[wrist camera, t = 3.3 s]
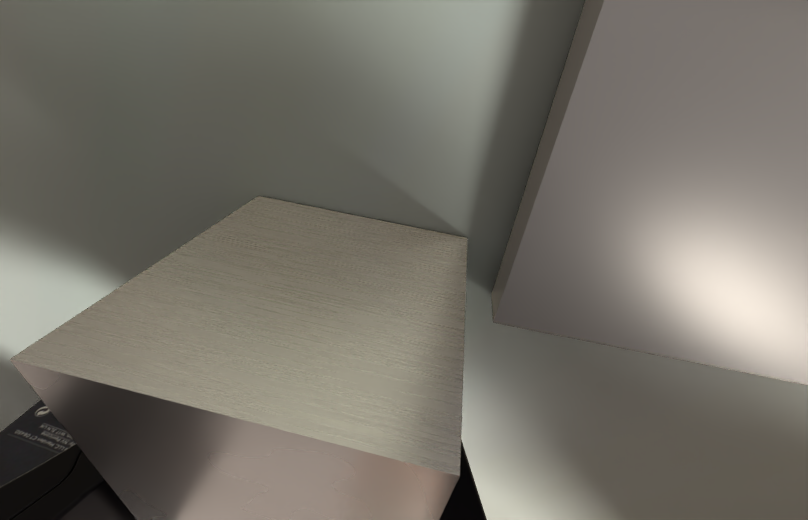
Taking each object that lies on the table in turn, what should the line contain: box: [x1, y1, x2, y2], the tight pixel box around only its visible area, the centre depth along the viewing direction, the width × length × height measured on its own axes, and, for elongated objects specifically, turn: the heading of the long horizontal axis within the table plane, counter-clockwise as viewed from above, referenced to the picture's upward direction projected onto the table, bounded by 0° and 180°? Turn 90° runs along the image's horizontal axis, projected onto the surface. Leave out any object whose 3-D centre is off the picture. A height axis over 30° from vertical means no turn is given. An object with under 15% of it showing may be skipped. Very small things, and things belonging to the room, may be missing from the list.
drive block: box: [10, 196, 468, 520], centre depth 8 cm, size 5×9×5 cm, turn 173°
